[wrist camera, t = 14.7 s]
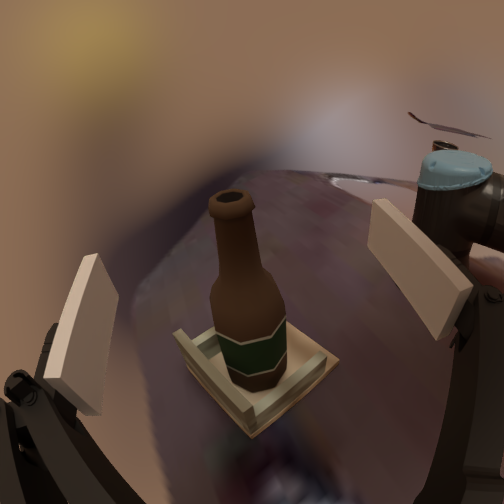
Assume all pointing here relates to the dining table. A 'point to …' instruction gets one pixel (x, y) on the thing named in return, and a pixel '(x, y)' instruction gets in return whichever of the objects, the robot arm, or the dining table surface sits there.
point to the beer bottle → (246, 298)
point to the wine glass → (443, 146)
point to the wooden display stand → (265, 401)
